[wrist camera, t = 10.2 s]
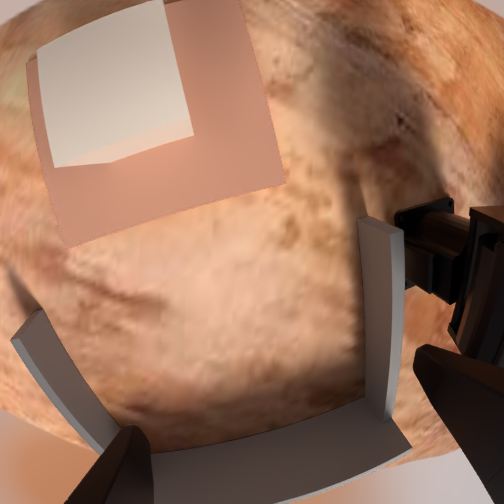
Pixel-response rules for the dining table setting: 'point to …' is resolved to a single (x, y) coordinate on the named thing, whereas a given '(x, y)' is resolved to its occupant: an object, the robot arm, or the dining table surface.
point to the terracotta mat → (180, 151)
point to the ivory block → (112, 88)
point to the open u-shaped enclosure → (272, 442)
